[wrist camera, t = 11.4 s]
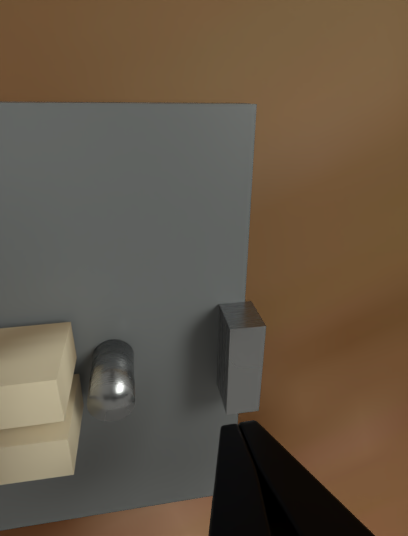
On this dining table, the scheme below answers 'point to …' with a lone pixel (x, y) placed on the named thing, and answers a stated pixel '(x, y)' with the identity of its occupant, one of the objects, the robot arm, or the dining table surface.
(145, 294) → the board
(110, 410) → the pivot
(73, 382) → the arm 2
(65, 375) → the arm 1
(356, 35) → the dining table surface
